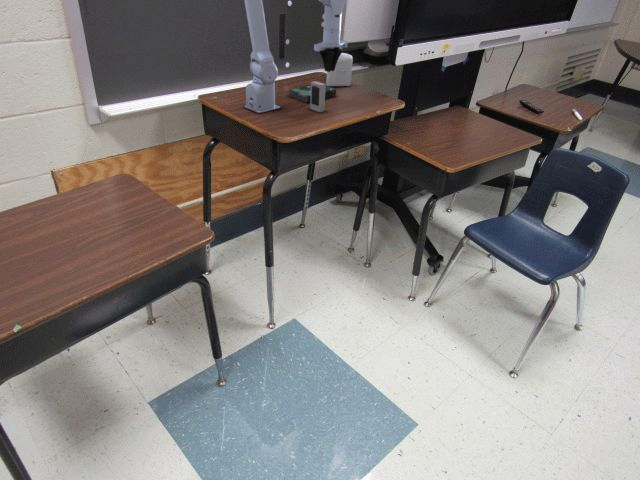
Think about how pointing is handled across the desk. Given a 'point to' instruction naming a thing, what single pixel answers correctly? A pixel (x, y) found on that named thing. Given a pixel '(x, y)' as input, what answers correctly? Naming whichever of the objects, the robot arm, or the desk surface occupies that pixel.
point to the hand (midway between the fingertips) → (329, 70)
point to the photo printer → (341, 72)
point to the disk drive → (309, 92)
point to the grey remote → (317, 96)
